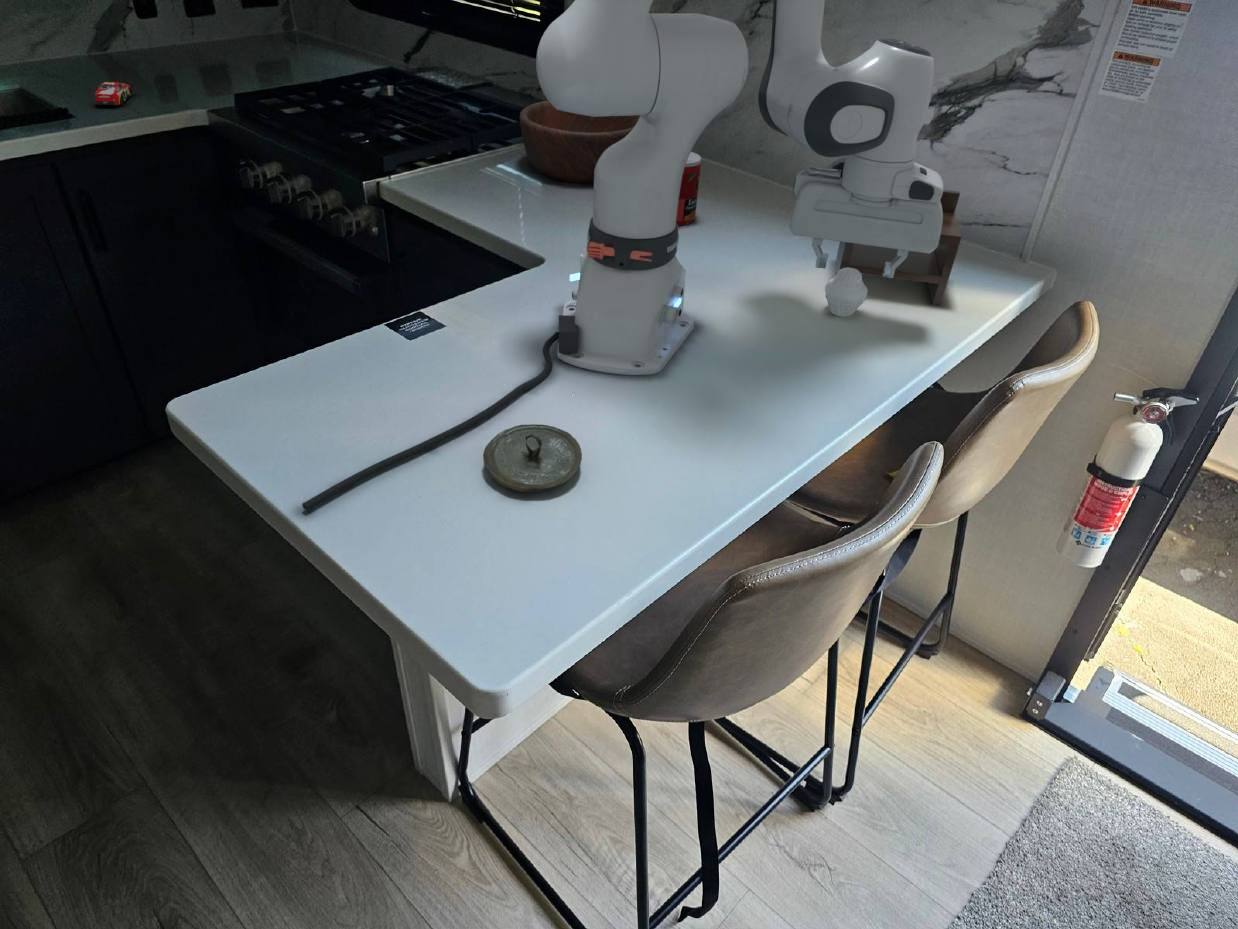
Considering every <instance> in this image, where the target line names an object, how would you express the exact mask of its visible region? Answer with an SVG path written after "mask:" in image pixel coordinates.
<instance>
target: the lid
mask: <svg viewBox="0 0 1238 929" xmlns="http://www.w3.org/2000/svg"><path fill="white" fill-rule="evenodd" d="M482 458H483V464H484V467H485V470H486V471H487V472H488V474H489V475H490V477H492V478H493V480H494V481H495V482H497V483H498V485H499V484H500V485H501V486H502V487H504V488H506V489H507V490H510V491H513V492H518V493H519V492H520V493H539V492H544V491H549V490H551V489H555V488H558V487H561V486H562V485H565V484H567V482H569V481H570V480H571V479H572V478H574V476H575V475H576V474H577V473H578V470H579V468H580V467H581V465H582V464H581V463H582V460H583V453H582V448H581V446H580V443H579V442H578V440H577V439H576V438H575V437H574V436H572V434H571V433H569V432H568V431H566V430H563V429H561V428H558V427H555V426H552V425H547V424H539V423H538V424H535V423H534V424H533V423H532V424H531V423H530V424H519V425H515V426H512V427H509V428H506V429H505V430H503V431H501V432H498V433H497V434H496V435H495V436H494V437H493V438H492V439H490V441H489V442H488V443H487V444H486V446H485V447H484V450H483V453H482Z"/></svg>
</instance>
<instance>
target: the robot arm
mask: <svg viewBox="0 0 1238 929" xmlns="http://www.w3.org/2000/svg"><path fill="white" fill-rule="evenodd" d="M653 2H654V0H574V1H573V2H572V4H570V5H569V7H568V8H567V9H566V10H565V11H564V12H563V13H562V14H560V15H559V16H558V17H557V18H555V20H553V21H552V22H551V23H550V24H549V25H548V26H547V28H546V30H544V32H543V35H542V36H541V38H540V41H539V44H538V47H537V51H536V58H535V68H536V69H535V70H536V75H537V81H538V84H539V87H540V89H541V91H542V93H543V95H544V96H545V98H546V99H547V101H549V102H550V103H551V104H552V105H553V106H554V107H555V108H556V109H557V110H561V111H565V112H570V113H575V114H580V115H586V116H592V117H600V116H631V115H640V117H639V120H638V122H637V123H636V125H635V127H634V128H633V129H632V131H631V132H630V133H629V134H628V135H627V136H626V137H625V138H623V139H622V140H620V141H618V142H617V143H615V144H613V145H611V146H610V147H609V148H607V149H606V150H605V151H604V152H603V154H602V155H601V156H600V158H599V160H598V162H597V164H596V167H595V170H594V183H593V193H592V194H593V195H592V197H593V200H592V217H591V218H590V220H589V226H588V229H587V237H586V239H587V244H586V251H585V252H583V253H582V254H580V255H579V256H580V257H579V272H577V273H572V274H569V281H570V282H574V281H578V287H577V289H573V291H572V292H571V299H572V300H571V299H570V300H567V301H565V302H564V303H563V308H562V309H563V310H562V314H560V315H558V331H555V332H554V333H553V334H552V335H551V336H549V338H548V339H547V340H546V341H545V342H544V344H543V346H542V356H543V359H544V361H545V365H544V368H543V369H542V371H541V372H540V373H539V374H537V375H536V376H535V377H533V378H531V379H529V380H527V381H525V382H523V383H522V384H520V385H518V386H517V387H515V388H513V389H512V390H511V391H510V392H509V393H507V394H505V395H504V396H503V397H502V398H499V400H497V401H496V402H494V403H493V404H491V405H489V406H488V407H487V408H486V409H483V410H482V411H481V412H478V413H477V414H475V415H473V416H472V417H470V418H469V419H467V420H465V421H463V422H461V423H459V424H457V425H454V426H453V427H451V428H449V429H447V430H445V431H443V432H440V433H439V434H437V435H434V436H432V437H430V438H428V439H426V440H424V441H422V442H420V443H418V444H415V445H413V446H412V447H408V448H407V449H405V450H403V451H400V452H398V453H396V454H393V455H392V456H389V457H386V458H385V459H382V460H380V461H378V462H375V463H374V464H372V465H370V466H367V467H365V468H364V469H362V470H359V471H358V472H356V473H354V474H352V475H350V476H348V477H347V478H345V479H343V480H341V481H339V482H338V483H336V484H334V485H332V486H331V487H329V488H327V489H326V490H324V491H322V492H319V493H318V494H317V495H315V496H313V497H312V498H310V499H308V500H306V501H304V502H302V504H301V506H302V508H303V510H304V511H306V512H308V511H310V510H311V509H313V508H315V507H317V506H318V505H320V504H322V503H324V502H326V501H327V500H329V499H330V498H332V497H335V495H338V494H339V493H341V492H342V491H344V490H346V489H348V488H350V487H352V486H354V485H355V484H357V483H359V482H361V481H362V480H365V479H366V478H369V477H370V476H373V475H374V474H376V473H379V472H380V471H383V470H384V469H388V468H389V467H391V466H394V465H395V464H397V463H400V462H402V461H404V460H406V459H409V458H411V457H413V456H416V455H417V454H420V453H421V452H423V451H426V450H428V449H430V448H432V447H435V446H436V445H439V444H440V443H442V442H445V441H447V440H448V439H451V438H453V437H454V436H457V435H458V434H460V433H462V432H464V431H466V430H468V429H469V428H472V427H473V426H475V425H477V424H478V423H480V422H482V421H484V420H485V419H487V418H488V417H490V416H491V415H493V414H495V413H496V412H498V411H499V410H501V409H502V408H503V407H504V406H506V405H507V404H509V403H510V402H511V401H513V400H514V399H515V398H517V397H518V396H520V395H521V394H522V393H524V392H525V391H527V390H529V389H531V388H533V387H535V386H537V385H539V384H540V383H542V382H543V381H544V380H545V379H546V378H547V377H548V376H549V374H550V373H551V370H552V368H553V358H552V355H551V354H550V349H551V347H552V346H553V344H555V343H556V342H557V341H558V344H557V351H556V358H558V359H559V360H560V361H562V362H564V363H566V364H568V365H572V366H574V367H578V368H582V369H586V370H590V371H596V372H600V373H605V374H606V373H607V374H615V375H623V376H624V375H625V376H646V375H654V374H658V373H660V372H661V371H662V370H663V369H664V368H665V366H666V365H667V364H668V363H669V362H670V360H671V359H672V357H673V356H674V354H676V352H677V351H678V350H679V349H680V347H681V346H682V344H683V343H684V342H685V340H686V339H687V338H688V337H689V335H691V333H692V332H693V330H694V328H695V321H694V319H693V318H692V317H690V316H688V315H687V314H684V304H685V302H684V301H685V287H686V269H685V268H684V266H683V265H682V263H680V261H679V260H678V258H677V256H676V254H677V252H678V244H679V238H680V234H679V225H678V224H677V223H676V217H677V208H678V200H679V194H680V187H681V181H682V176H683V171H684V168H685V164H686V162H687V159H688V157H689V154H690V152H692V150H693V148H694V146H695V144H697V143H696V142H697V141H698V140H699V138H700V136H701V135H702V133H703V132H704V131H705V129H706V128H707V127H708V125H710V123H711V122H712V121H713V120H714V119H715V118H716V117H717V116H718V115H719V114H720V113H721V112H723V111H724V110H725V109H726V108H728V107H730V105H732V104H733V103H734V102H735V100H736V99H737V98H738V97H739V95H740V94H741V93H742V90H743V88H744V86H745V84H746V81H747V77H748V73H749V67H750V56H749V50H748V49H749V48H748V45H747V42H746V40H745V37H744V35H743V33H742V32H741V30H740V28H739V27H738V25H737V24H735V23H734V22H732V21H731V20H726V19H722V18H719V17H716V16H710V15H707V14H702V13H695V12H694V13H693V12H692V13H691V12H690V13H689V12H687V13H677V12H676V13H675V12H674V13H672V12H671V13H669V12H668V13H667V12H666V13H650V10H651V7H652V4H653ZM825 2H826V0H773V6H772V21H771V22H772V23H771V40H770V50H769V54H768V59H767V63H766V65H765V69H764V71H763V74H762V77H761V81H760V84H759V88H758V95H757V97H758V98H757V102H758V108H759V112H760V114H761V118H762V119H763V121H764V122H765V123H766V124H767V126H768V127H769V128H771V129H772V130H773V131H775V132H778V133H780V134H783V135H784V136H786V137H789V138H790V139H792V140H793V141H795V142H796V143H798V144H799V145H800V146H802V147H805V148H806V149H807V150H809V151H810V152H812V153H814V154H816V155H819V156H822V157H825V158H838V157H845V158H844V162H843V168H842V169H836V168H820V167H818V166H809V167H808V168H806V169H803V170H801V171H799V172H798V173H797V175H796V176H795V179H794V186H793V194H794V196H795V197H796V200H795V202H794V206H793V209H792V213H791V217H790V221H789V230H790V231H791V233H792V234H793V235H794V236H798V237H805V238H811V239H812V241H811V246H812V249H813V251H814V254H815V256H816V260H815V266H814V268H816V269H827V268H826V267H827V262H828V258H829V253H828V252H823V250H822V247H821V246H822V245H823V243H824V242H823V241H824V240H827V241H836V242H840V241H842V242H849V243H856V244H863V245H871V246H878V247H885V248H893V249H897V256H896V257H895V258H894V259H893V260H892V261H891V262H886V261H885V264H884V268H883V272H882V276H881V277H882V278H887V279H894V278H893V276H894V272H895V268H897V267H898V266H899V265H900V264H901V263H902V262H903V261H904V260H905V259H906V258H907V255H908V251H915V252H922V253H931V252H932V251H934V250H935V249H936V248H937V247H938V244H939V239H940V235H941V229H942V221H943V211H942V205H941V201H940V199H941V197H942V194H943V190H945V189H944V180H943V179H942V176H941V175H940V173H939V172H937V171H936V170H935V171H934V170H933V169H931V168H928V167H927V166H924V165H922V164H920V163H918V162H916V157H917V141H918V138H919V137H918V136H919V134H920V132H921V130H922V128H923V127H924V124H925V122H926V119H927V114H928V111H929V106H930V102H931V98H932V92H933V88H934V87H933V86H934V78H935V60H934V57H933V56H932V54H931V53H930V52H929V51H928V50H927V49H925V48H923V47H920V46H918V45H916V44H911V43H908V42H907V41H903V40H899V39H896V38H895V39H894V38H887V37H886V38H880V39H877V40H876V41H875V42H874V43H873V45H872V46H871V47H869V49H867V50H866V51H865V52H863V53H862V54H861V55H859V56H857V57H855V58H854V59H852V60H851V61H849V62H847V63H844V64H841V65H838V66H836V67H834V66H832V65H831V64H829V62H828V61H827V59H826V58H825V55H824V52H823V49H822V43H821V42H822V32H823V24H824V23H823V22H824V13H825Z"/></svg>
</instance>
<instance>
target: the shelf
mask: <svg viewBox="0 0 1238 929" xmlns="http://www.w3.org/2000/svg"><path fill="white" fill-rule="evenodd" d="M960 195H961V192H960V191H958V190H950V189H943V194H942V197H941V199H940V201H941V205H942V211H943V221H942V229H941V235H940V239H939V244H938V247H937V248H936V249H935V250H934V251H932V252H931V253H922V252H915V251H908V255H907V258H906V259H905V260H904V261H903V262H902V263H901V264H900V265H899V266H898V267H897V268H895V272H894V276H893V278H892V279H899V280H906V281H913V282H921V283H928V287H929V288H928V289H929V292H930V298H931V302H932V305H934V306H941V305H942V302H943V299H944V296H945V292H946V289H947V286H948V283H949V281H950V280H949V279H950V276H951V273H952V269H953V267H954V263H955V260H956V257H957V253H958V250H959V247H960V244H961V241H962V237H963V236H962V234H961V230H960V226H959V223H958V220H957V217H956V210H957V206H958V202H959V199H960ZM896 256H897V249H893V248H885V247H878V246H871V245H863V244H856V243H849V242H842V241H839V244H838V249H837V254H836V257H835V262H834V277H835V276H836V275H837V273H838V272H839V270H841V269H843V268H854V269H857V270H858V271H860V273H861V275H868V276H876V277H882V272H883V268H884V264H885V261H886V262H891V261H892V260H893V259H894V258H895V257H896Z"/></svg>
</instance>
